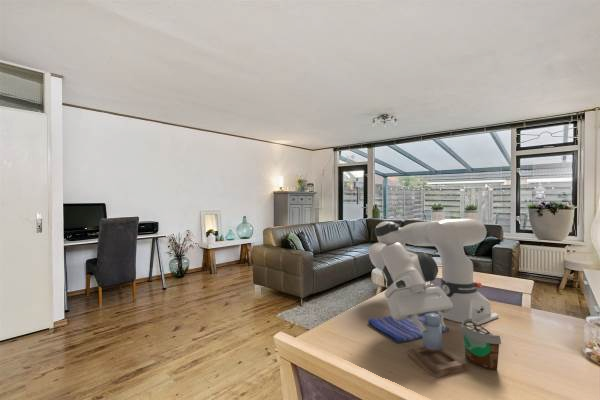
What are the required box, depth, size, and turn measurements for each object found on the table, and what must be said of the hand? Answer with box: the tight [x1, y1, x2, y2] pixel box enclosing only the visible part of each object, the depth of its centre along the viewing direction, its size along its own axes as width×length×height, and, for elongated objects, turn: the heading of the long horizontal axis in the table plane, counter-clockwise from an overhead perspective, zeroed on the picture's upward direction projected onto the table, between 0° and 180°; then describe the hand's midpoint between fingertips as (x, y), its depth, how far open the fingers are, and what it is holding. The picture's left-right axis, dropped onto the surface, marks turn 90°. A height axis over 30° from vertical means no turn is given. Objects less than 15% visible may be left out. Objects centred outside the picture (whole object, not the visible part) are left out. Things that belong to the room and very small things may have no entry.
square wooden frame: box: [407, 346, 469, 378], centre depth 83 cm, size 11×11×2 cm
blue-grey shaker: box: [422, 312, 443, 350], centre depth 84 cm, size 5×5×9 cm
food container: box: [460, 319, 502, 371], centre depth 84 cm, size 12×6×10 cm, turn 5°
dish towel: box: [367, 315, 450, 344], centre depth 106 cm, size 17×24×3 cm
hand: (433, 330), depth 83 cm, fingers closed on blue-grey shaker, 5 cm apart
